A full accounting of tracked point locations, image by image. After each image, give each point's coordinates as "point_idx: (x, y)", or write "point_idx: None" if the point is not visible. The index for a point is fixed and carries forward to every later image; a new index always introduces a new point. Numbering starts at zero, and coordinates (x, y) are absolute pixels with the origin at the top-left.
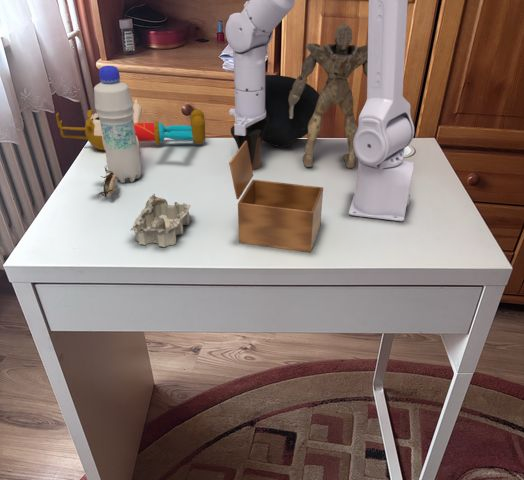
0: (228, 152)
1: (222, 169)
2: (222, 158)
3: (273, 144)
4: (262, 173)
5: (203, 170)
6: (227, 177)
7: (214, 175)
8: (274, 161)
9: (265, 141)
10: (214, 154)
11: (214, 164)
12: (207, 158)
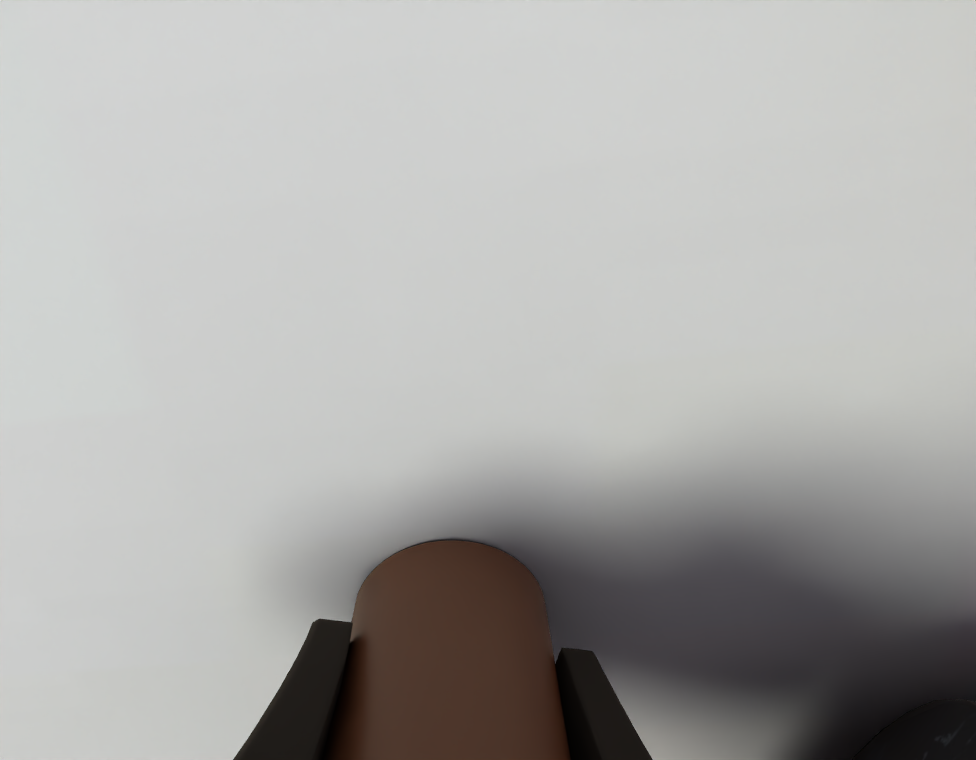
0: (821, 389)
1: (331, 374)
2: (651, 341)
3: (878, 741)
4: None
5: (255, 135)
6: (131, 446)
7: (139, 303)
8: None
9: (924, 716)
10: (792, 228)
11: (468, 265)
12: (668, 143)
